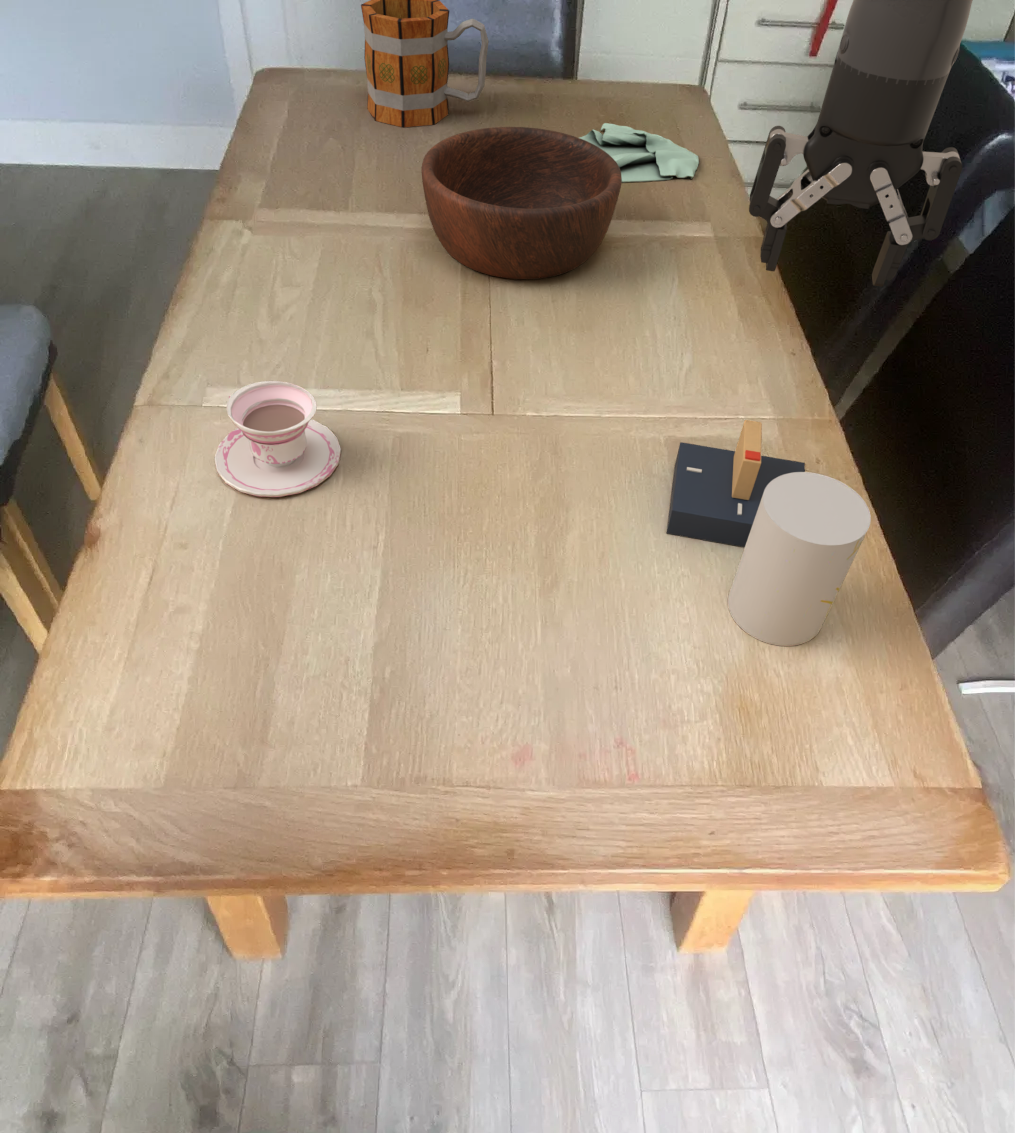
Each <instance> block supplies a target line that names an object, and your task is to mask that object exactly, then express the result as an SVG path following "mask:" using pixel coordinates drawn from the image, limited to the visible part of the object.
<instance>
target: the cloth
mask: <svg viewBox="0 0 1015 1133" xmlns="http://www.w3.org/2000/svg"><path fill="white" fill-rule="evenodd" d="M603 130H604V133H601V131H603ZM578 138H580V139H583V140H585V141H588V142H590V143H592V144H594V145H596V146H598V147H599V148H601V149H602V150H604V151H605V152H606V153H608V154H609V155H610V156H611V157H612V158H613V159H614V160H615V161H616V163H617V164H618V166H619V168H620V171H621V177H622V183H639V182H643V183H644V182H660V181H669V180H672V179H673V178H674V177H676V178H677V179H688V180H692V179H694V177H695V174H696V172H697V170H698V167H699V165H700V159H699V155H698V154H696V153H694V152H692V151H691V150H688V149H687V148H686V147H682V146H680V145H678V144H677V143H674V142H673V141H672V140H671V139H669V138H665V137H664V136H663V135H662V136H661V135H659V134H656V133H650V132H647V131H645V130H642V129H634V128H633V127H630V126H627V125H618V124H614V123H607V122H604V123H603V124H602V125H601V127H600V131H599V130H596V129H594V128H592V130H590V131H589V132H587V133H586V134H585V135H583V136H579V137H578Z"/></svg>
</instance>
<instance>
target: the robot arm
mask: <svg viewBox="0 0 1015 1133" xmlns="http://www.w3.org/2000/svg"><path fill="white" fill-rule="evenodd" d="M972 5H973V0H852V3H851V6H850V8H849V11H848V14H847V18H846V21H845V24H844V27H843V31H842V35H841V38H840V41H839V45H838V49H837V52H836V56H835V59H834V63H833V66H832V69H831V73H830V76H829V80H828V84H827V87H826V91H825V94H824V97H823V100H822V104H821V107H820V111H819V114H818V118H817V121H816V123H815V126H814V128H813V129H812V131H811V132H809V134H808V135H807V136H806V135H800V134H796V133H791V132H787V131H786V129H785V127H784V126H782V125H775V126H773V127H772V128H771V129H770V130H769V131H768V132H769V133H768V134H767V135H768V136H767V138H766V142H765V146H764V148H763V151H762V154H761V159H760V161H759V164H758V168H757V170H756V174H755V177H754V180H753V183H752V187H751V189H750V193H749V205H748V212H749V214H750V216H752V217H755V218H757V217H760V218H762V219H764V221H765V222H766V227H765V230H764V234H763V238H762V242H761V245H760V255H759V256H760V257H759V258H760V262H761V263H763V264H765V271H768V272H775V271H776V269H777V265H778V261H779V259H780V256H781V253H782V252H781V251H782V248H783V244H784V241H785V238H786V234H787V231H788V230H787V229H788V226H787V224H788V222H790V221H791V220H792V219H794V218H795V217H796V216H797V215H798V214H800V213H801V212H805V211H808V209H809V208H811V207H812V206H813V205H815V203H817V202H818V201H819V200H821V199H823V200H825V201H826V204H828V205H836V206H839V205H850V206H853V207H856V208H859V209H864V210H865V209H866V210H869V209H870V207H872V206H876V205H878V204H879V205H880V207H881V209H882V212H883V215H884V217H885V220H886V222H887V224H888V226H889V228H890V230H888V231H887V232H886V234H885V236H884V239H883V242H882V245H881V248H880V250H879V253H878V255H877V259H876V262H875V264H874V267H873V269H872V273H871V281H872V286H875V287H881V288H883V287H884V285H885V283H886V281H892V280H893V279H894V278H895V277H896V276H897V273H898V270H899V268H900V265H901V263H902V260H903V257H904V255H905V253H906V250H907V248H908V246H909V245H910V244H911V243H912V242H914V241H916V240H922V239H924V240H925V241H934V240H936V239H937V238H938V237H939V236H940V234H941V231H942V228H943V225H944V222H945V219H946V217H947V214H948V212H949V208H950V206H951V202H952V200H953V197H954V194H955V191H956V188H957V185H958V182H959V179H960V177H961V174H962V171H963V162H962V160H961V158H960V154H959V152H958V150H957V149H956V148H955V147H952V146H951V147H945V149H943V150H942V151H941V152H935V151H923V146H924V145H923V144H924V141H925V139H926V136H927V133H928V131H929V128H930V125H931V123H932V120H933V118H934V116H935V112H936V109H937V107H938V104H939V102H940V98H941V96H942V93H943V90H944V88H945V85H946V82H947V80H948V77H949V74H950V73H951V72H950V71H951V69H952V67H953V65H954V63H956V60H957V58H958V56H959V53H960V47H961V46H960V45H961V42H962V40H963V37H964V35H965V31H966V28H967V24H968V20H969V16H970V13H971V9H972ZM801 154H802V155H803V160H804V162H805V165H806V167H807V169H806V170H805V171H804V172H803V173H802V174H800V175H799V176H798V177H797V178H796V179H795V180H794V181H793V182H792V184H791V185H790V187H788V188H787V189H785V191H783V193H781V194H780V195H778V196H777V198H775V197H773V196H771V194H772V190H773V187H774V184H775V181H776V178H777V175H778V172H779V169H780V167H786V166H788V165H789V164H790V163H791V162H792V160H793V159H794V157H795V156H798V155H801ZM920 170H922V171H924V172H925V173H924V176H925V180H926V183H927V185H928V186H929V187H928V191H927V194H926V197H925V201H924V203H923V206H922V209H921V212H920V215H916V216H910V217H909V215H908V213H907V210H906V208H905V206H904V203H903V200H902V197H901V194H900V191H899V188H900V187H902V186H903V185H904V184H906V183H907V182H908V181H909V180H910V179H912V178H913V177H914V176H916V175H917V174H918V173H919V172H920Z"/></svg>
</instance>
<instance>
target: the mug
mask: <svg viewBox="0 0 1015 1133" xmlns="http://www.w3.org/2000/svg"><path fill="white" fill-rule="evenodd" d="M360 8H361V14H362V21H363V32H364V66H365V73H366V81H367V84H366V85H367V103H366V105H367V106H366V108H367V110H368V112H369V114H370V115H371V117H372V118H373V120H374V121H375V122H379V123H382V124H383V123H384V124H388V125H391V126H394V127H395V126H396V127H400V128H413V127H422V126H424V127H425V126H432V125H436V124H437V123H439V122H440V121H442V120H443V119H444V118H446V117H447V116H448V115H450V108H449V101H448V100H449V99H448V97H449V98H455V99H458V100H460V101H464V102H465V103H470V102H472V101H474V100H478V99H479V98H480V96H481V94H482V92H483V90H484V88H485V84H486V74H487V58H488V50H489V42H490V41H489V37H488V34H487V30H486V26H485V24H484V23H482V22H480V21H479V20H477V19H476V18H475V19H474V18H470V19H467V20H464V21H462V22H461V23H460V24H458V26H457V27H456V28H455V29H454V30H452V31H449V30H448V27H449V19H450V9H448V7H447V6H446V5H445V4H443V2H442V1H441V0H368V1H365V2H363V3H361V4H360ZM470 28H474V29H476V30H477V31H479V33H480V39H481V45H480V50H479V56H478V75H477V85H476V88H475V90H474V91H472V92H469V93H467V92H465V91H463V90H460V89H458V88H453V87H449V86H448V80H449V71H450V70H449V69H450V56H449V46H448V44H449V43H448V42H449V41H455V40H457V39H458V38H459V37H460V36H461V35H462V34H463V33H464V32H465V31H466V30H468V29H470Z"/></svg>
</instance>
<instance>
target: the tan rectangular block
mask: <svg viewBox="0 0 1015 1133" xmlns="http://www.w3.org/2000/svg"><path fill="white" fill-rule="evenodd" d="M762 434H763V423H762V421H756V420H749V419H745V420H744V421H743V425H742V428H741V430H740V434H739V438H738V441H737V444H736V448H735V450H734V451H735V454H734V461H733V481H732V498H738V499H744V500H749V499H750V496H751V493H752V490H753V487H754V484H755V481H756V478H757V475H758V472H759V469H760V466H761V456H762V446H763V444H762V440H763V439H762V438H763V435H762Z"/></svg>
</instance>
